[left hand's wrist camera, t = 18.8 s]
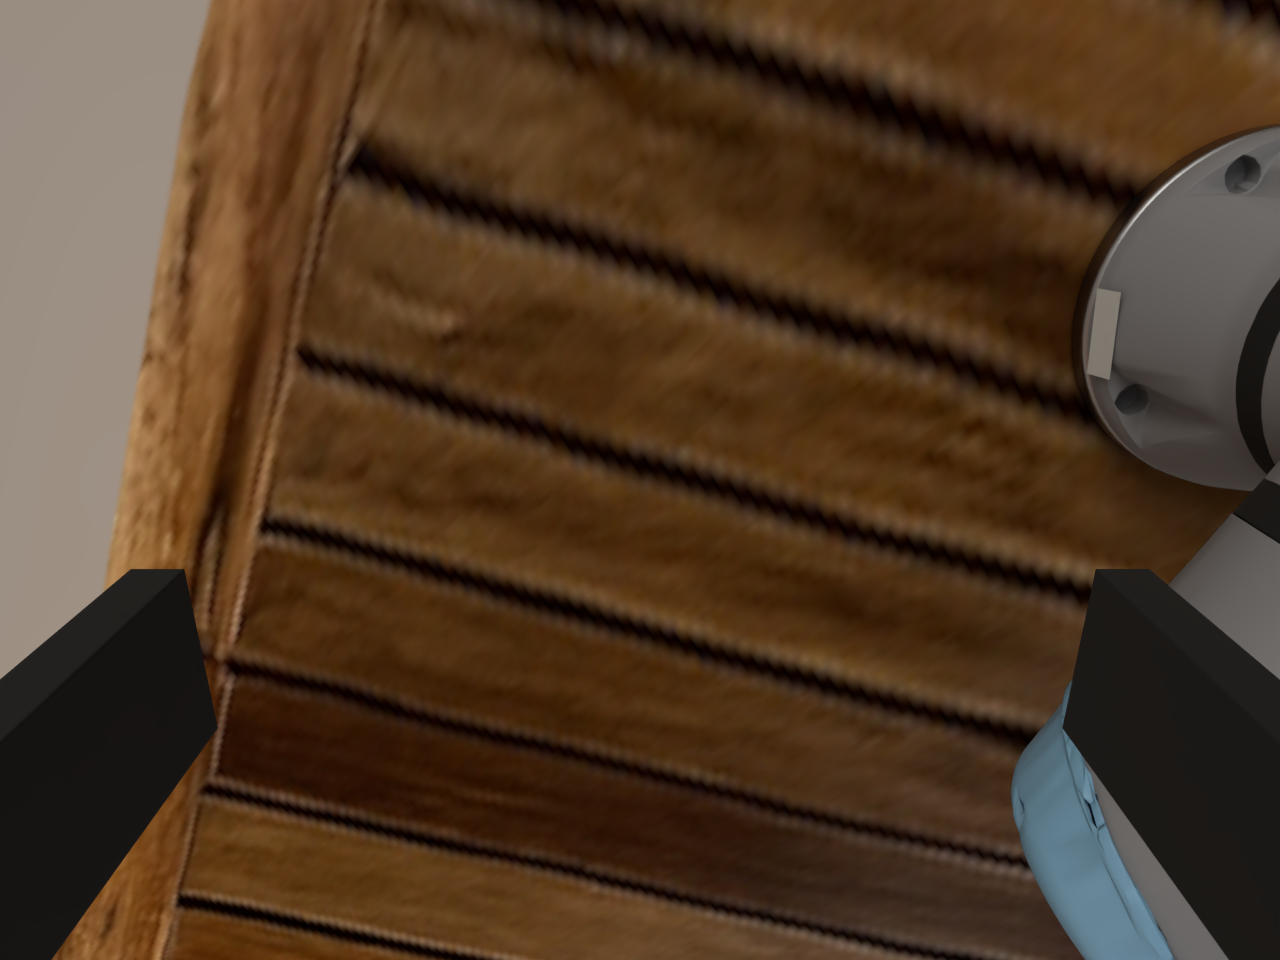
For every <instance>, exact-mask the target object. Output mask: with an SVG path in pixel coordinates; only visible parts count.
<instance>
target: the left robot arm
mask: <svg viewBox="0 0 1280 960" xmlns="http://www.w3.org/2000/svg"><path fill="white" fill-rule="evenodd" d="M1072 353H1073V363H1074V369H1075V374H1076V378H1077V382H1078V385H1079V388H1080V391H1081V394H1082V397H1083V399H1084V401H1085V403H1086V405H1087V407H1088V409H1089V411H1090V412H1091V414H1092V415H1093V417H1094V419H1095V420H1096V422H1097V423H1098V424H1099V425H1100V427H1101V428H1102V429H1103V430H1104V431H1105V433H1106V434H1107V435H1108V436H1109V437H1111V438H1112V439H1113V440H1114V441H1115V442H1116V443H1117V444H1118V445H1120V446H1121V447H1122V448H1124V449H1125V450H1126V451H1128V452H1129V453H1131V454H1132V455H1134V456H1135V457H1137V458H1139V459H1140V460H1142V461H1143V462H1145V463H1147V464H1148V465H1150V466H1152V467H1154V468H1156V469H1158V470H1160V471H1162V472H1164V473H1167V474H1169V475H1172V476H1175V477H1178V478H1181V479H1184V480H1187V481H1190V482H1193V483H1197V484H1201V485H1206V486H1212V487H1219V488H1227V489H1236V490H1246V491H1252V492H1251V493H1250V494H1249V496H1248V497H1247V498H1246V499H1245V500H1244V501H1243V502H1242V503H1241V505H1240V506H1239V507H1238V508H1237V509H1236V510H1235V511H1233V514H1232V513H1231V514H1230V515H1229V516H1228V518H1227V519H1226V520H1225V521H1224V522H1223V523H1222V525H1221V526H1220V527H1219V528H1218V529H1217V530H1216V531H1215V533H1214V534H1213V535H1212V536H1211V537H1210V538H1209V539H1208V541H1207V542H1206V543H1205V544H1204V545H1203V546H1202V548H1201V549H1200V550H1199V551H1198V552H1197V553H1196V554H1195V556H1194V557H1193V558H1192V559H1191V560H1190V561H1189V562H1188V563H1187V565H1186V566H1185V567H1184V568H1183V569H1182V570H1181V571H1180V572H1179V573H1178V574H1177V576H1176V577H1175V578H1174V579H1173V580H1172V581H1171V582H1170V583H1169V584H1168V585H1167V584H1166V583H1165V582H1164V581H1162V580H1161V579H1160V578H1159V577H1158V576H1156V575H1155V574H1154V573H1153V572H1152V571H1151V570H1149V569H1096V571H1095V576H1094V580H1093V585H1092V590H1091V595H1090V599H1089V604H1088V609H1087V613H1086V618H1085V623H1084V628H1083V632H1082V637H1081V642H1080V647H1079V651H1078V656H1077V661H1076V665H1075V670H1074V675H1073V680H1072V681H1071V682H1070V683H1069V685H1068V686H1067V688H1066V690H1065V692H1064V696H1063V702H1062V703H1061V705H1060V706H1059V707H1058V708H1057V710H1056V711H1055V712H1054V714H1053V715H1052V716H1051V717H1050V719H1049V720H1048V721H1047V722H1046V724H1045V725H1044V726H1043V727H1042V729H1041V730H1040V731H1039V732H1038V734H1037V735H1036V736H1035V737H1034V739H1033V740H1032V741H1031V742H1030V743H1029V745H1028V746H1027V747H1026V748H1025V750H1024V751H1023V753H1022V754H1021V756H1020V758H1019V760H1018V762H1017V764H1016V767H1015V770H1014V775H1013V779H1012V786H1011V801H1012V806H1013V817H1014V820H1015V823H1016V825H1017V828H1018V830H1019V833H1020V841H1021V844H1022V849H1023V852H1024V854H1025V857H1026V859H1027V862H1028V864H1029V866H1030V868H1031V870H1032V872H1033V875H1034V877H1035V879H1036V881H1037V883H1038V885H1039V887H1040V889H1041V891H1042V893H1043V895H1044V896H1045V898H1046V900H1047V902H1048V904H1049V905H1050V907H1051V909H1052V910H1053V912H1054V914H1055V915H1056V917H1057V919H1058V920H1059V922H1060V924H1061V925H1062V927H1063V928H1064V930H1065V931H1066V933H1067V934H1068V936H1069V937H1070V939H1071V940H1072V942H1073V943H1074V945H1075V946H1076V948H1077V949H1078V951H1079V952H1080V953H1081V955H1082V956H1083V957H1084V959H1085V960H1280V124H1273V125H1267V126H1262V127H1256V128H1252V129H1248V130H1245V131H1241V132H1238V133H1234V134H1232V135H1229V136H1226V137H1224V138H1221V139H1219V140H1216V141H1214V142H1212V143H1210V144H1208V145H1206V146H1204V147H1202V148H1200V149H1198V150H1196V151H1194V152H1192V153H1191V154H1189V155H1187V156H1186V157H1184V158H1182V159H1181V160H1179V161H1178V162H1176V163H1175V164H1174V165H1172V166H1171V167H1169V168H1168V169H1167V170H1165V171H1164V172H1162V173H1161V174H1160V175H1159V176H1158V177H1157V178H1155V179H1154V180H1153V181H1152V182H1151V183H1149V184H1148V185H1147V186H1146V187H1145V188H1144V189H1143V190H1142V191H1141V192H1140V193H1139V194H1138V195H1137V196H1136V197H1135V198H1134V199H1133V200H1132V201H1131V202H1130V204H1129V205H1128V206H1127V207H1126V208H1125V209H1124V211H1123V212H1122V213H1121V214H1120V215H1119V217H1118V218H1117V219H1116V221H1115V222H1114V223H1113V225H1112V226H1111V228H1110V229H1109V230H1108V232H1107V233H1106V235H1105V237H1104V238H1103V240H1102V242H1101V243H1100V245H1099V247H1098V248H1097V250H1096V252H1095V254H1094V256H1093V258H1092V260H1091V262H1090V264H1089V267H1088V269H1087V272H1086V274H1085V277H1084V279H1083V282H1082V285H1081V289H1080V292H1079V295H1078V299H1077V303H1076V308H1075V314H1074V320H1073V330H1072ZM1255 527H1256V528H1255ZM1260 530H1261V531H1260ZM1265 533H1266V534H1265ZM1268 535H1269V536H1268ZM1270 536H1271V537H1270ZM1273 538H1274V539H1273ZM1278 541H1279V542H1278ZM217 728H218V727H217V722H216V717H215V713H214V708H213V703H212V699H211V694H210V689H209V684H208V680H207V675H206V670H205V665H204V661H203V656H202V651H201V647H200V642H199V637H198V632H197V628H196V623H195V618H194V613H193V609H192V604H191V599H190V595H189V590H188V585H187V580H186V576H185V571H184V569H131V570H129V571H128V572H127V573H126V574H125V575H124V576H122V577H121V578H120V579H119V580H118V581H116V582H115V583H114V584H113V585H112V586H110V587H109V588H108V589H107V590H106V591H105V592H103V593H102V594H101V595H100V596H99V597H97V598H96V599H95V600H94V601H93V602H92V603H90V604H89V605H88V606H87V607H86V608H84V609H83V610H82V611H81V612H80V613H78V614H77V615H76V616H75V617H74V618H73V619H71V620H70V621H69V622H68V623H67V624H65V625H64V626H63V627H62V628H61V629H59V630H58V631H57V632H56V633H55V634H54V635H52V636H51V637H50V638H49V639H48V640H46V641H45V642H44V643H43V644H42V645H41V646H39V647H38V648H37V649H36V650H35V651H33V652H32V653H31V654H30V655H29V656H27V657H26V658H25V659H24V660H23V661H22V662H20V663H19V664H18V665H17V666H16V667H14V668H13V669H12V670H11V671H10V672H8V673H7V674H6V675H5V676H4V677H3V678H1V679H0V960H51V959H52V958H53V957H54V955H55V954H56V953H57V951H58V950H59V948H60V947H61V946H62V944H63V943H64V941H65V940H66V939H67V937H68V936H69V934H70V933H71V932H72V930H73V929H74V927H75V926H76V925H77V923H78V922H79V920H80V919H81V918H82V916H83V915H84V914H85V912H86V911H87V909H88V908H89V907H90V905H91V904H92V902H93V901H94V900H95V898H96V897H97V895H98V894H99V893H100V891H101V890H102V888H103V887H104V886H105V884H106V883H107V881H108V880H109V879H110V877H111V876H112V875H113V873H114V872H115V870H116V869H117V868H118V866H119V865H120V863H121V862H122V861H123V859H124V858H125V856H126V855H127V854H128V852H129V851H130V849H131V848H132V847H133V845H134V844H135V842H136V841H137V840H138V838H139V837H140V836H141V834H142V833H143V831H144V830H145V829H146V827H147V826H148V824H149V823H150V822H151V820H152V819H153V817H154V816H155V815H156V813H157V812H158V810H159V809H160V808H161V806H162V805H163V803H164V802H165V801H166V799H167V798H168V797H169V795H170V794H171V792H172V791H173V790H174V788H175V787H176V785H177V784H178V783H179V781H180V780H181V778H182V777H183V776H184V774H185V773H186V771H187V770H188V769H189V767H190V766H191V765H192V763H193V762H194V760H195V759H196V758H197V756H198V755H199V753H200V752H201V751H202V749H203V748H204V746H205V745H206V744H207V742H208V741H209V739H210V738H211V737H212V735H213V734H214V732H215V731H216V730H217Z"/></svg>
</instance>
